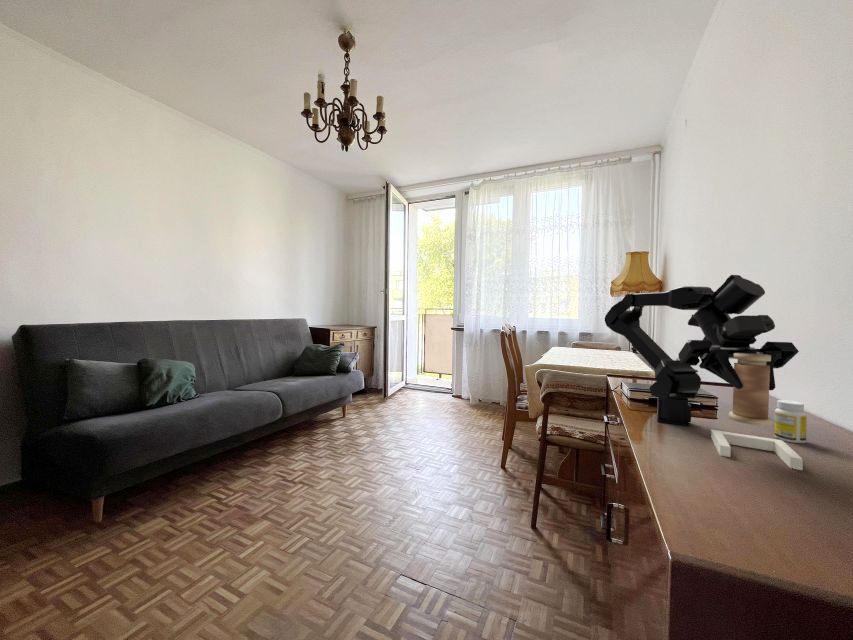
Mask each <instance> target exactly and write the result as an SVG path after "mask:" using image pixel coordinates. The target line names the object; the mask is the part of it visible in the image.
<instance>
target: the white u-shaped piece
mask: <svg viewBox="0 0 853 640" xmlns="http://www.w3.org/2000/svg"><path fill="white" fill-rule="evenodd" d="M710 435H711V438H712V439H711V441H712V440H713V441H712V443H713V442H714V443H713V444H714V447H715V449H716V450H717V452H718V454H719V456H721V457H727V458H731V450H732V449H731V448H732V447H731V445H734V446H740V447H745V448H750V449H757V450H764V451H769V452H774V453H775V454H776V455H777V456H778V457H779V458H780V460H782V461H783V462H784V464H785V465H787V467H788V468H789V469H792V468H793V470H797V471H803V469H804V467H803V466H804V465H803V461H804V460H803V457H801V456H800V455H799V454H798V453H797V452H795V450H793V449H792V448H791V447H790V446H789V445H788V444H787V443H785V441H784V440H780V439H778V438H776V439H775V438H771V437H770V438H769V437H763V436H756V435H749V434H743V433H736V432H728V431H724V430H716V429H711V434H710Z"/></svg>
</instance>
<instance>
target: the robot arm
mask: <svg viewBox="0 0 853 640" xmlns="http://www.w3.org/2000/svg"><path fill="white" fill-rule="evenodd" d="M765 294H766V291H765V289H764V288H763V286H761V285H760V284H758V283H755V282H754V281H752V280H749V279H747V278H744V277H743V276H741V275H740V274H731V275H730V276H728V277H727V278H726V279H725V281H724V282H723V283H722V285H720V286H719V288H717V289H716V291H714V290H712V288H711V287H710V286H709V287H708V286H692V285H691V286H686V285H685V286H683V285H682V286H680V287H675V288H672V289H670V290H668V291H662V292H661V291H660V292H643V293H642V292H629V293H626V295H624V296H623V298H622V299H621V300H620V301H618V302H617V303H615V304H614V305H613V306H611V307H610V308H609V310H608V312H607V313H606V314H605V316H604V324H605V325H606V327H607V328H608V329H610V330H611V331H612V332H614V333H617V334H618V335H621V336H623V337H624V338H625V339H627V341H628V342H629V343H630V345H631V346H633V348H634V349H635V350H636V351H637V352H638V353H639V354H640V355H641V356H642V357H643V359H644V360H645V361H646V362H647V363H648V364H649V365H650V366H651V368H653V369H654V379H655V380H656V381H655V382H654V383H653V384H652V385H650V387H649V392H650V395H651V397H655V398H657V413H656V421H657V422H661V423H667V424H674V425H681V426H690V423H691V422H692V406H691V404H690V403H689V399H691V400H694V399H696V397H697V394H698V391H699V390H700V389H701V385H702V382H701V381H702V378H701V376H700V375H699V374H698V373H699V370H697V369H695V368H694V367H693V366H699V368H700V369H704V370H706V371H708V372H710V373H711V374H713V375H715V376H717V377H718V378H719V379H721V380H723V381H725V382H726V383H728V384H729V385H731V386H734V387H735V388H737V389H741V388H742V387H743V385H742V383H741V381H740V379H739V377H738V375H737V374H736V372H735V370H734V366H733V365H732V364H731V362H730V360H731V359H732V360H733V359H734V353H755V354H765V355H771V361H766V365H768V366H770V381H769V391H774V390H775V389H776V382H775V373H774V369H780V368H783V367H784V366H786V364H787V363H788V362H790V361H791V360H792V359H793V358H794V357H796V355H797V354H798V353H799V352H800V350H798V348H797V347H796V346H795V344H794V343H793V342H790V341H766V342H765V343H764V344H763V345H762V346H761V347H760V348H755V347H751V345H754V344H755V343H756V342H757V338H756V337H758V336H759V335H761V334H765V333H769V332H771V331H773V330H774V329H775V328H776V324H775V322H774V320H773V319H772V317H770V316H769V315H768V314H757V315H741V314H743V313H744V312H745V311H746V310H748V309H749V308H750V307H751V306H752V305H754V304H755V303H756V302H757V301H758V300H759V299H761V297H763V296H765ZM655 306H656V307H664V306H666V307H669V308H671V309H675V310H683V311H696V312H695V313H694V314H691V315H690V316H691V317H690V319H689V320H688V321H687V324H688V326H690V327H691V326H693V327H697V328H700V330H701V331H702V333H703V335H704V337H703V338H702V339H688V340H687V341H686V342H685V344H684V345H683V347H682V348H681V349H680V351H679V353H678V357H677V358H678V360H676V359H675V360H674V359H673V358H671V357H670V356H669V354H668V353H666V351H665V350H663V349H662V347H660V345H658V344H657V343H656V342H655V340H653V338H651V337H650V336H649V334H647V333H646V331H644V330H643V329H642V327H641V320H640V318H641V317H642V316H643V308H644V307H655ZM631 307H632V310H629V309H630V308H631ZM730 315H737V316H734V317H731V316H730ZM700 361H701V362H700Z"/></svg>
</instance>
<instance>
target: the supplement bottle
mask: <svg viewBox="0 0 853 640" xmlns="http://www.w3.org/2000/svg"><path fill="white" fill-rule="evenodd" d="M776 406H777V407H778V408H776V409H775V410H774V437H775V438H776V439H777V440H782V441H783V442H788V443H793V444H794V443H795V444H805V443H806V442H807V423H808V422H807V420H808V418H807V414H806V413H805V412H804V410H805V404H804V403H803V402H800V401H796V400H787V399H778V400H777V404H776Z"/></svg>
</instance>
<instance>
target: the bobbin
mask: <svg viewBox="0 0 853 640" xmlns="http://www.w3.org/2000/svg"><path fill="white" fill-rule="evenodd" d="M734 359H735V360H737V362H734V364H733V368H734V370H735V372H736V374H737V375H738V377H739V379H740V381H741V383H742V385H743V387H742V388H741V389H737V388H735V387H734V386H733V387H732V388H733V389H732V390H733V391H732V410H731V411H729V412H728V418H729V419H730V420H732V421H735V422H737V423H738V422H739V423H741V424H747V425H752V426H762V427H770V426H772V425H773V418H771V417H770V416H769V407H770V406H769V405H770V390H769V381H770V366H768V365H766V361H771V355H765V354H755V353H734Z"/></svg>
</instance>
